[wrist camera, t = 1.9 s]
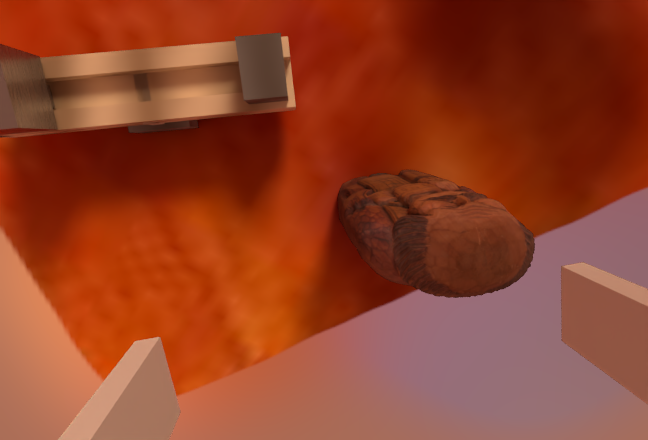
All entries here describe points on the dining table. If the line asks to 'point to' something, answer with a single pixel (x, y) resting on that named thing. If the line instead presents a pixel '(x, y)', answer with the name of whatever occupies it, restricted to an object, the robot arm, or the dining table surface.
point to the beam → (169, 85)
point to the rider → (24, 94)
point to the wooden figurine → (434, 234)
